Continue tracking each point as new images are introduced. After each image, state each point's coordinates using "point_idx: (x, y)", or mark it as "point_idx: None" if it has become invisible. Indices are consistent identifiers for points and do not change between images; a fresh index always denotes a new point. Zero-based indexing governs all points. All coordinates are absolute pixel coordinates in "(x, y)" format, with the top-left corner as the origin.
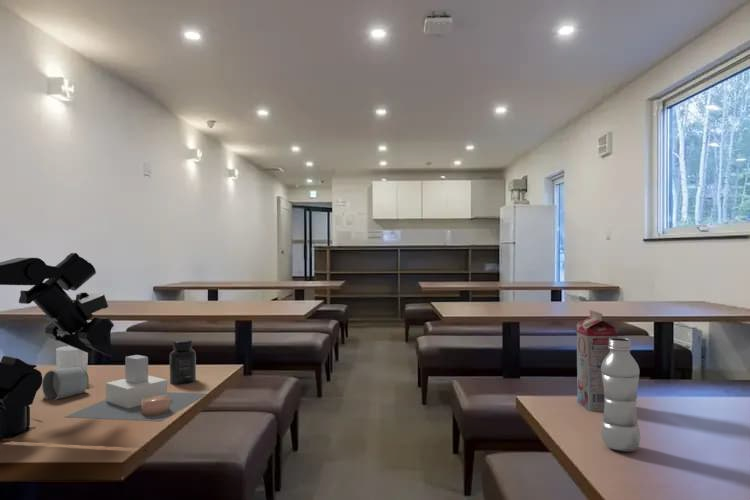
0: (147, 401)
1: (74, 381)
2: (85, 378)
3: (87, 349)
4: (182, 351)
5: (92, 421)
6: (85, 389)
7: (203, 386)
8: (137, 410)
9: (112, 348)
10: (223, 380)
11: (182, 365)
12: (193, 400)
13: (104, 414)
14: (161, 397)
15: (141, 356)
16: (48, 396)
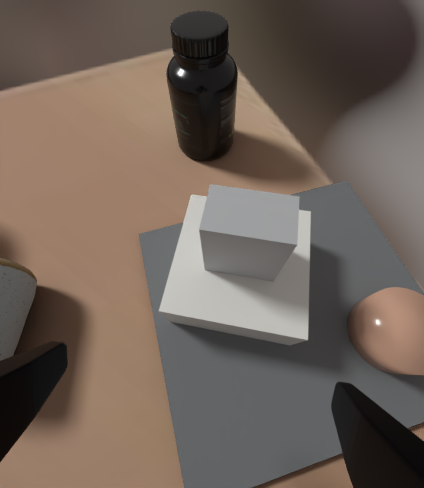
0: (416, 359)
1: (4, 318)
2: (17, 277)
3: (43, 382)
4: (220, 69)
5: (289, 473)
6: (36, 283)
7: (267, 141)
8: (333, 347)
9: (400, 425)
10: (266, 104)
11: (226, 112)
12: (370, 227)
13: (285, 423)
14: (405, 307)
15: (261, 199)
16: None
